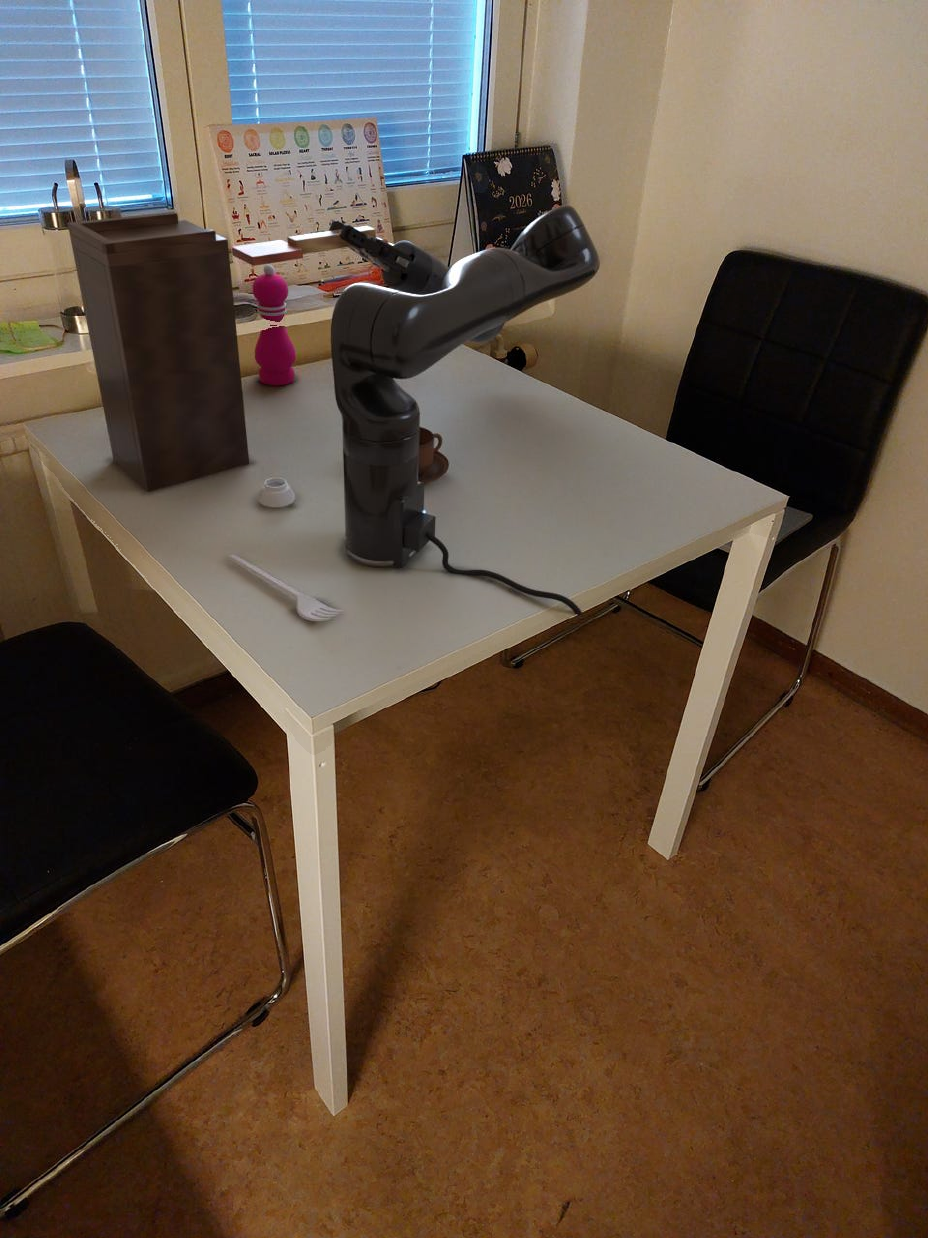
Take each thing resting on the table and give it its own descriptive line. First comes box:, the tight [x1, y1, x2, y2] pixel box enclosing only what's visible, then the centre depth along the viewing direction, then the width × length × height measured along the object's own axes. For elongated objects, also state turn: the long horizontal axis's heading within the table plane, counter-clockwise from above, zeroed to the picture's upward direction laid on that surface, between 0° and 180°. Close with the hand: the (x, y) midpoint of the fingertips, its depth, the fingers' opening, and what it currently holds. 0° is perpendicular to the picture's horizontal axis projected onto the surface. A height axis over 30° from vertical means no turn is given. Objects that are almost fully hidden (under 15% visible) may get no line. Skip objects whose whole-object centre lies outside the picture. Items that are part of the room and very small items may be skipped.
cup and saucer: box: [418, 426, 450, 485], centre depth 133 cm, size 12×12×6 cm
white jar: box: [257, 477, 296, 508], centre depth 125 cm, size 5×3×5 cm
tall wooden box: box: [67, 211, 250, 493], centre depth 124 cm, size 16×12×33 cm
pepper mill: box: [252, 264, 297, 386], centre depth 156 cm, size 7×7×20 cm
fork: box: [228, 553, 346, 622], centre depth 107 cm, size 3×20×2 cm, turn 48°
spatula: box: [231, 225, 377, 267], centre depth 130 cm, size 22×6×2 cm, turn 130°
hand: (338, 228), depth 132 cm, fingers closed on spatula, 2 cm apart
